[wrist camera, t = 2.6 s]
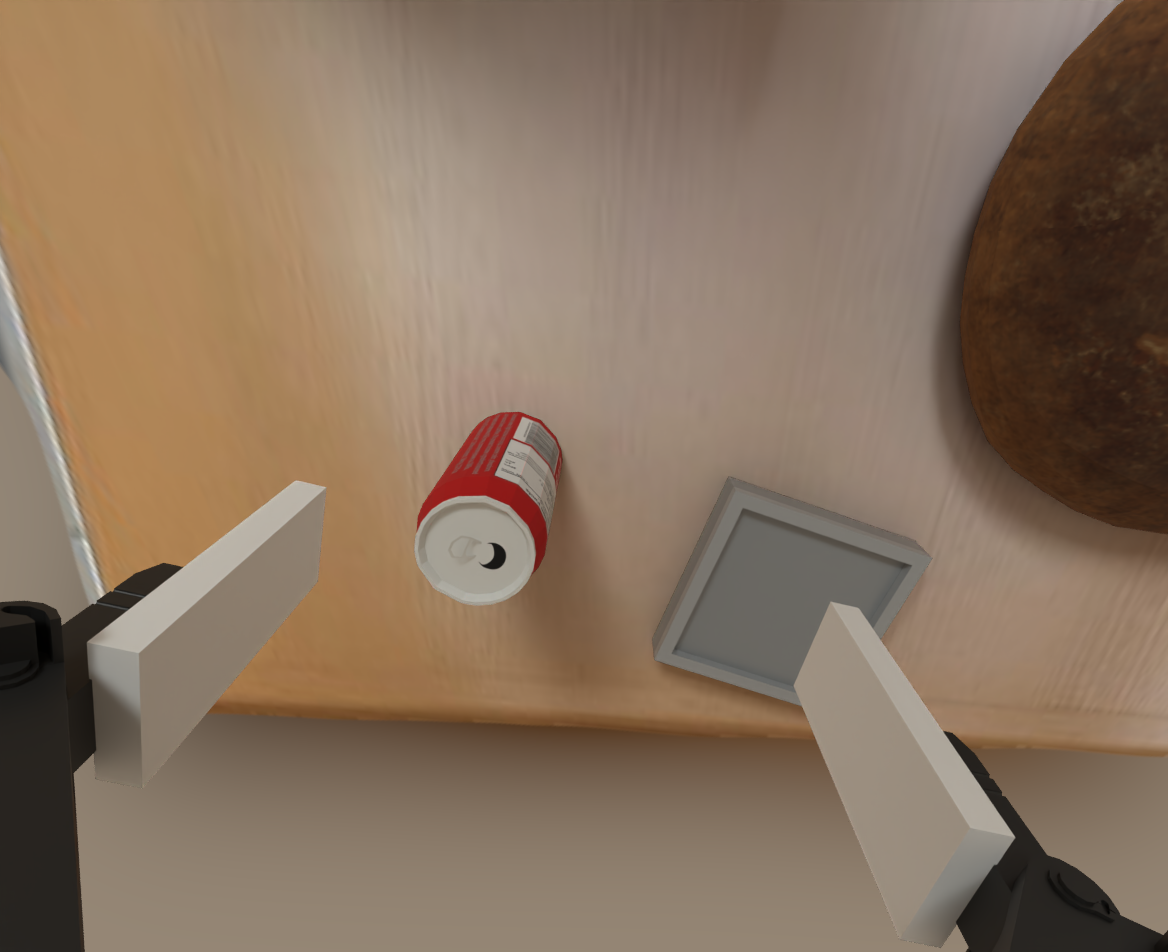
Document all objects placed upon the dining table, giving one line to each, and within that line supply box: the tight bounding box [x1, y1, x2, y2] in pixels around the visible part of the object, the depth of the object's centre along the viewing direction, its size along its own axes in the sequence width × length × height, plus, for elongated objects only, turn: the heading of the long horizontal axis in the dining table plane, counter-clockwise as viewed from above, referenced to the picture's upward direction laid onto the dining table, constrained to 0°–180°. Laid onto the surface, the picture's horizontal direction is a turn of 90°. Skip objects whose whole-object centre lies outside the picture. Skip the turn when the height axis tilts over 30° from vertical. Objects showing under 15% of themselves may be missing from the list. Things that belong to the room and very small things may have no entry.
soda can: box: [414, 412, 562, 606], centre depth 30 cm, size 6×6×12 cm
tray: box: [652, 477, 932, 706], centre depth 38 cm, size 12×12×2 cm
